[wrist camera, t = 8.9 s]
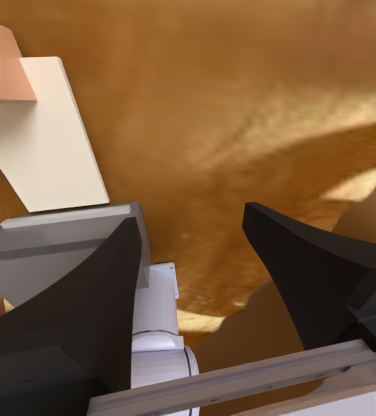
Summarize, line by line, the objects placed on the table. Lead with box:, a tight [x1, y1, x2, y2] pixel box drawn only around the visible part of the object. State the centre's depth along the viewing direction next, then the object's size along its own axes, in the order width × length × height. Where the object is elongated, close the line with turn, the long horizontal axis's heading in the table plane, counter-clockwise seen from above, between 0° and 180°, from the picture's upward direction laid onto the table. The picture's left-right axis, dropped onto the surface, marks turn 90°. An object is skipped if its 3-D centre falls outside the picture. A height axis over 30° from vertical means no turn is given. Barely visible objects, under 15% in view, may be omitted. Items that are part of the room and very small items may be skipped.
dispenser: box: [0, 202, 151, 308], centre depth 19 cm, size 9×14×6 cm, turn 93°
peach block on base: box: [0, 25, 110, 212], centre depth 13 cm, size 14×8×5 cm, turn 3°
